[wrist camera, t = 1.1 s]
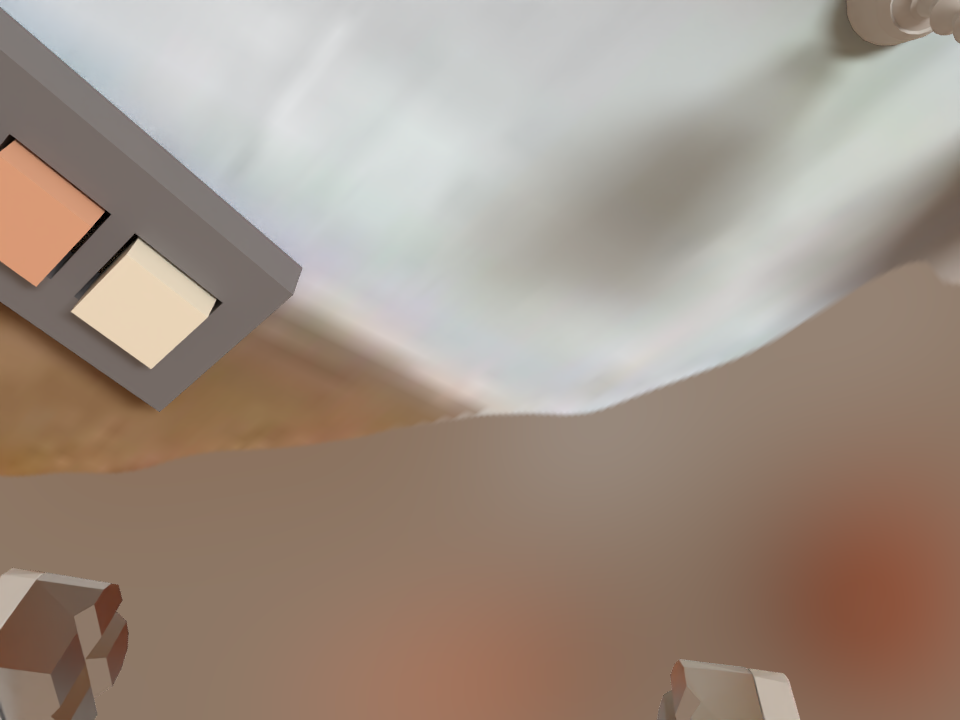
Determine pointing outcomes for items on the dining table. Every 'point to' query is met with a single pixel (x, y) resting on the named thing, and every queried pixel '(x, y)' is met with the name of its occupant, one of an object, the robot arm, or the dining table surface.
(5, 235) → the terracotta button
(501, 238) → the dining table surface
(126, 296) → the cream button
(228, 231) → the button panel
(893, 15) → the chalice
